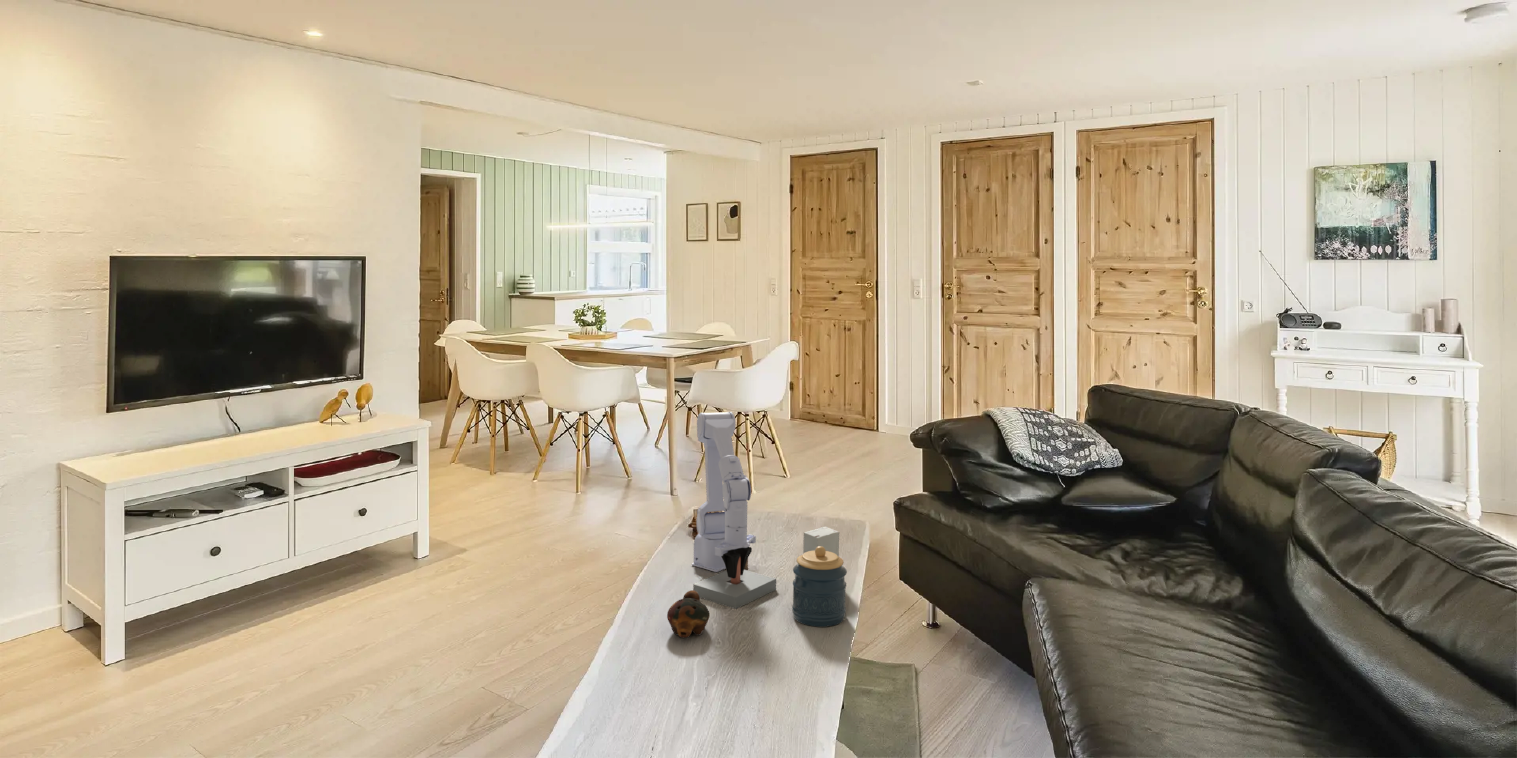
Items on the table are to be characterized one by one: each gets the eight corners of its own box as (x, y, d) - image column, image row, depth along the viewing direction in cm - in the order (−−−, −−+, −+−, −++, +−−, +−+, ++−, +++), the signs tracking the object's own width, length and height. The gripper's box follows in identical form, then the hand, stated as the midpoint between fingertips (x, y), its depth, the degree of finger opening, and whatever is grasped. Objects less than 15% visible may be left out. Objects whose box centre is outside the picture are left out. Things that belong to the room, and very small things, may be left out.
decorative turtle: (709, 618, 203) (711, 587, 202) (707, 650, 188) (709, 616, 187) (668, 616, 203) (670, 585, 201) (663, 647, 188) (665, 614, 187)
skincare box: (823, 578, 232) (825, 525, 230) (839, 584, 227) (840, 530, 225) (801, 584, 226) (802, 530, 225) (816, 591, 222) (817, 536, 220)
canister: (812, 602, 214) (814, 534, 212) (855, 616, 206) (858, 545, 204) (781, 618, 204) (782, 547, 202) (825, 632, 196) (827, 559, 194)
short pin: (737, 569, 237) (737, 554, 237) (742, 567, 239) (743, 552, 238) (744, 571, 236) (744, 556, 235) (749, 569, 238) (749, 554, 237)
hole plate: (693, 595, 218) (693, 584, 217) (734, 577, 231) (734, 566, 231) (735, 609, 209) (735, 597, 209) (776, 589, 223) (776, 578, 222)
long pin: (729, 587, 220) (729, 557, 219) (734, 584, 222) (735, 554, 221) (736, 589, 218) (736, 559, 217) (742, 586, 220) (742, 556, 219)
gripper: (730, 534, 210) (729, 587, 211) (765, 521, 221) (764, 571, 223) (708, 529, 214) (708, 580, 216) (744, 516, 225) (743, 566, 227)
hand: (735, 575), depth 220 cm, fingers closed on long pin, 2 cm apart
